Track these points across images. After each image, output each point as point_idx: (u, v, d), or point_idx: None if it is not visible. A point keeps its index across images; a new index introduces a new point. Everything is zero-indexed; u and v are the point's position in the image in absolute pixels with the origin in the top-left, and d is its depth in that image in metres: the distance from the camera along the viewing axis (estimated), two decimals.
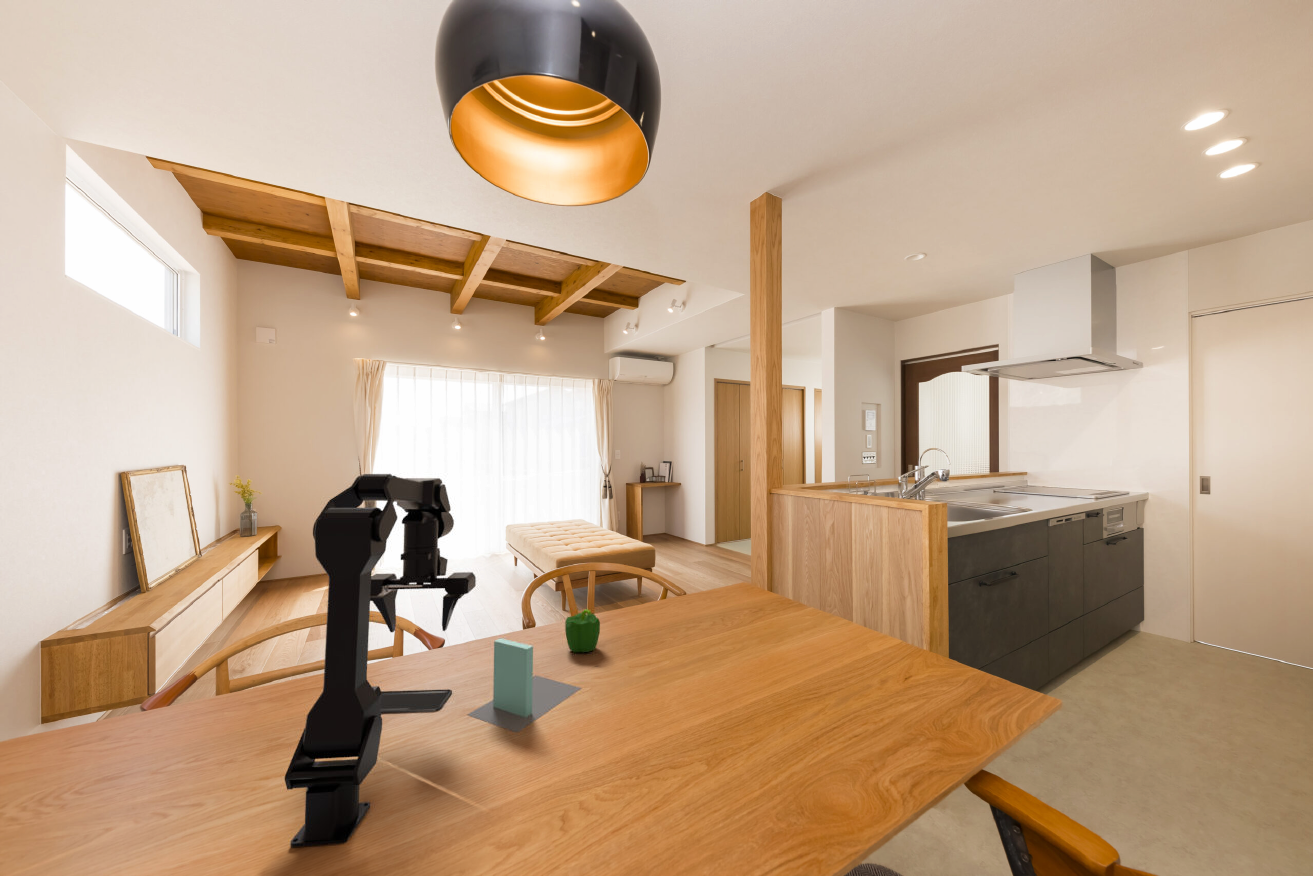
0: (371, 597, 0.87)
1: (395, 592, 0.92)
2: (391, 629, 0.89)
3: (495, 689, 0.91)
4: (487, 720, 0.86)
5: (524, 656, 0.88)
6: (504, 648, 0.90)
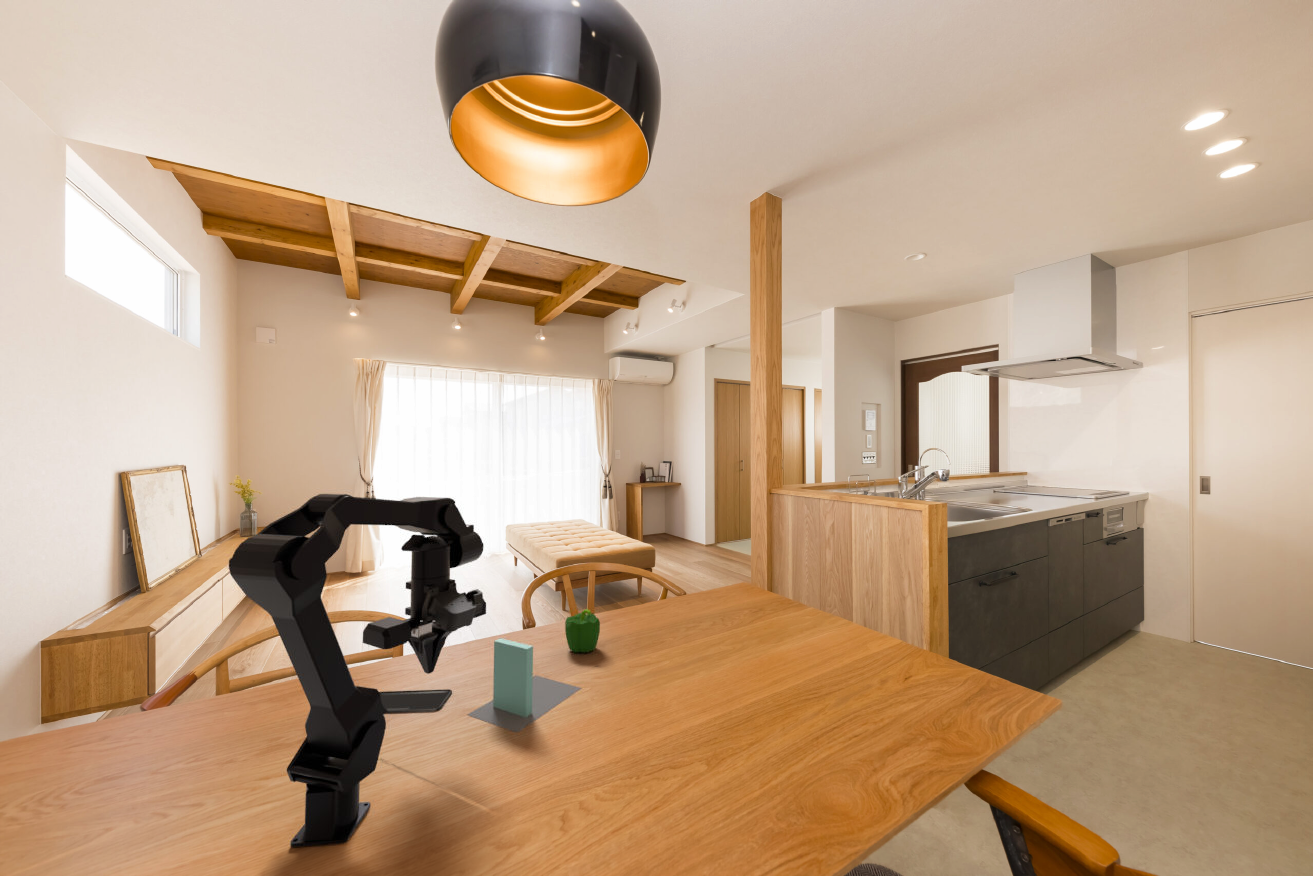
0: None
1: (441, 631, 0.79)
2: None
3: (495, 689, 0.91)
4: (487, 720, 0.86)
5: (524, 656, 0.88)
6: (504, 648, 0.90)
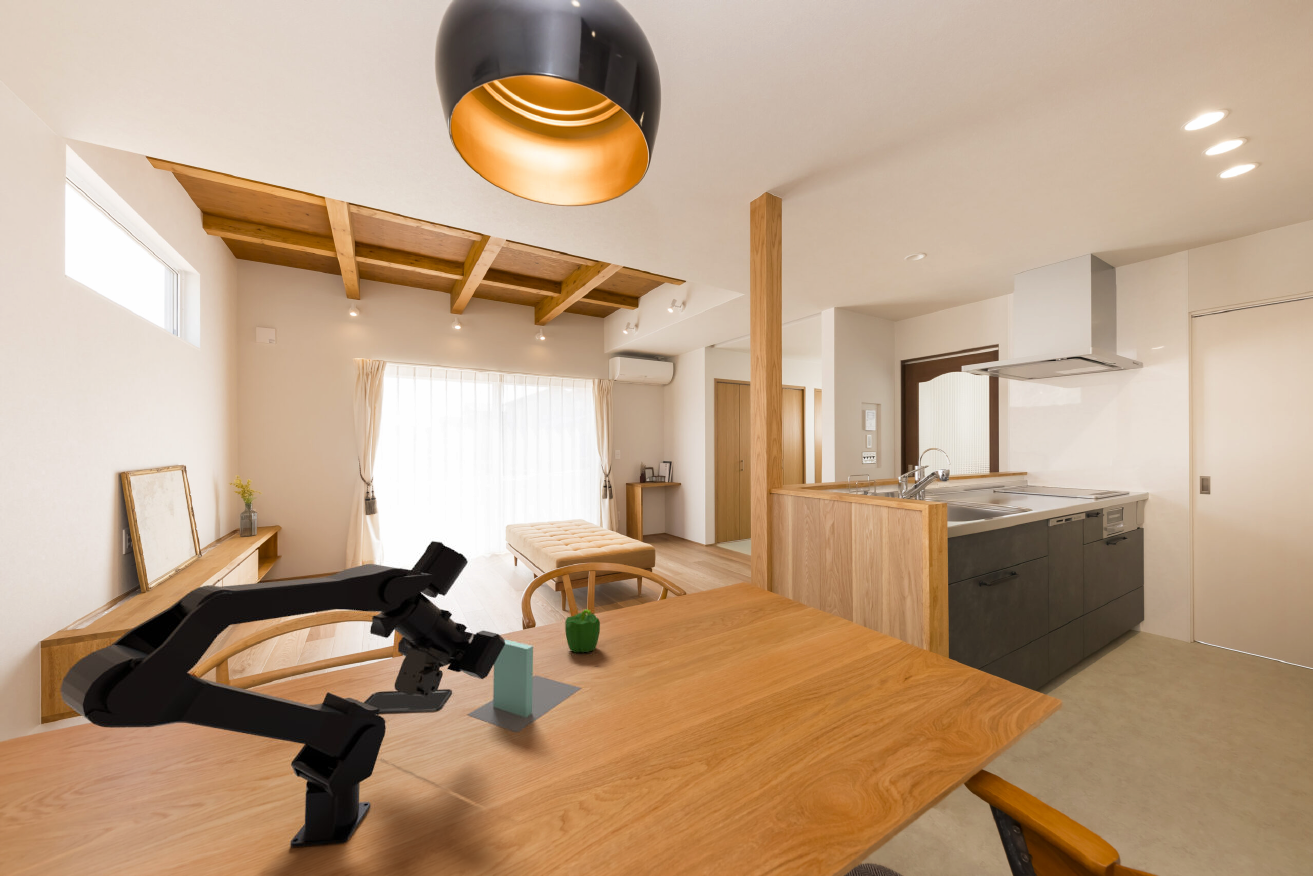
0: None
1: None
2: None
3: (495, 689, 0.91)
4: (487, 720, 0.86)
5: (524, 656, 0.88)
6: (504, 648, 0.90)
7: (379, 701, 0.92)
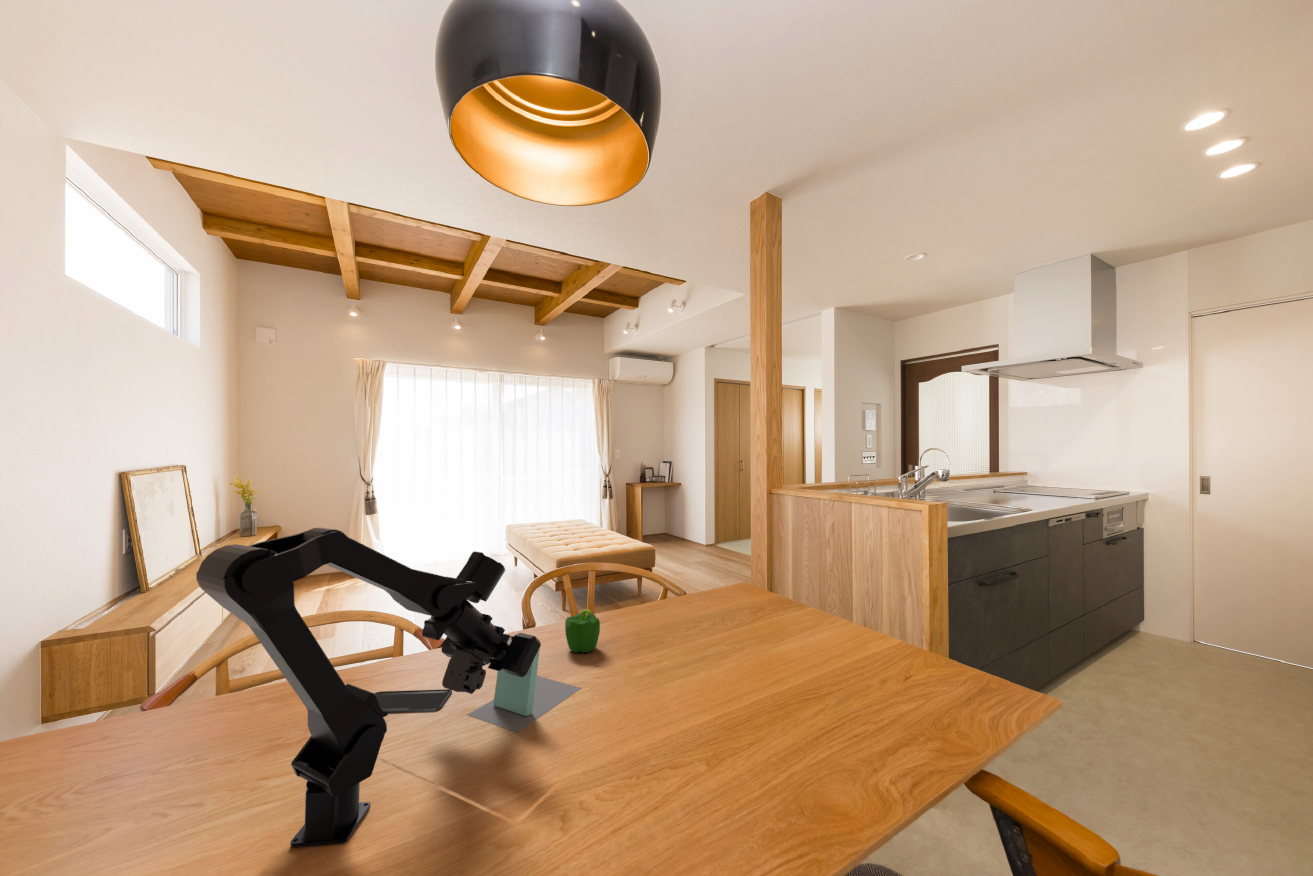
0: None
1: None
2: None
3: (497, 687, 0.91)
4: (487, 720, 0.86)
5: None
6: None
7: (379, 701, 0.92)
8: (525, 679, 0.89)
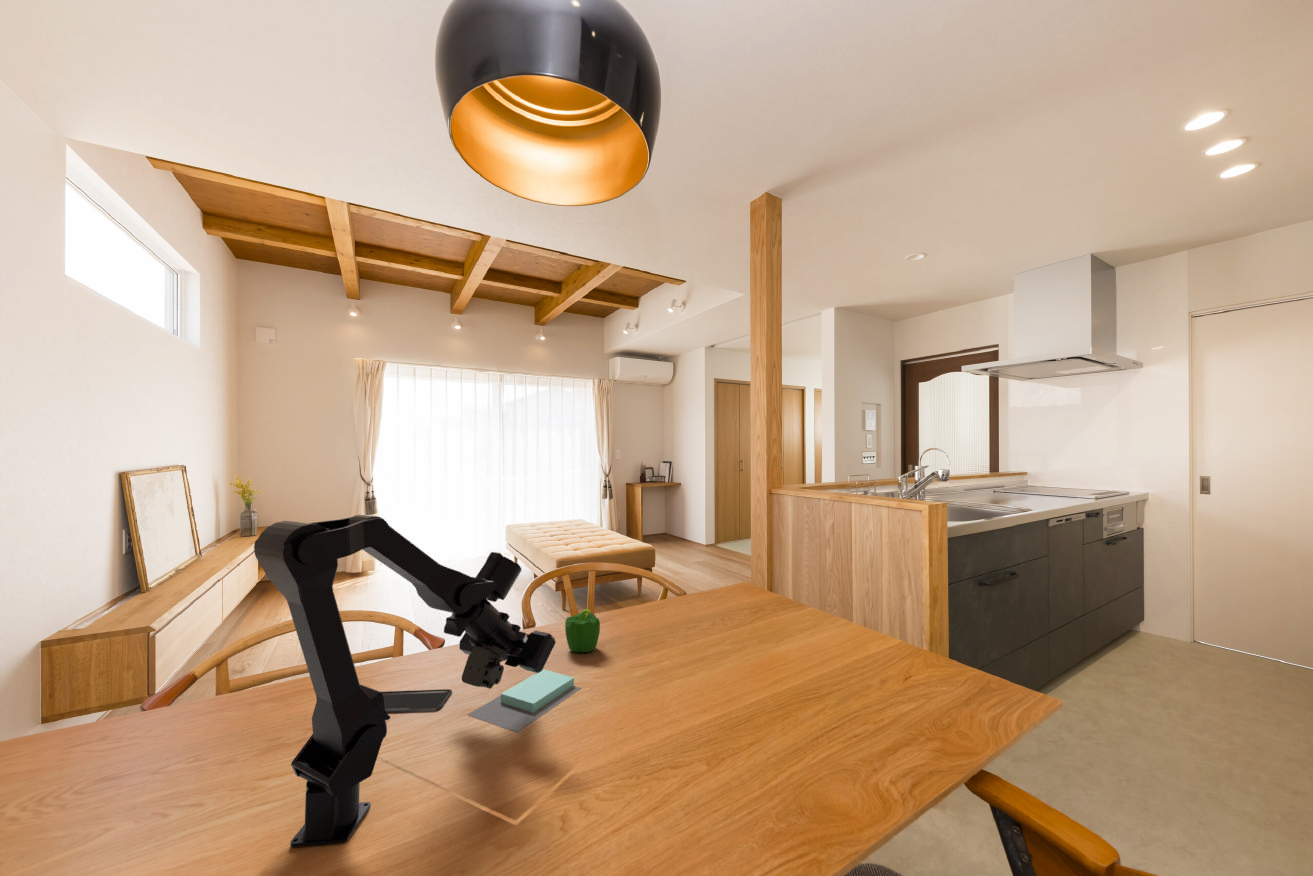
0: (529, 637, 0.90)
1: None
2: None
3: (515, 687, 0.95)
4: (487, 720, 0.86)
5: (567, 679, 0.98)
6: (550, 673, 1.01)
7: None
8: (549, 688, 0.94)
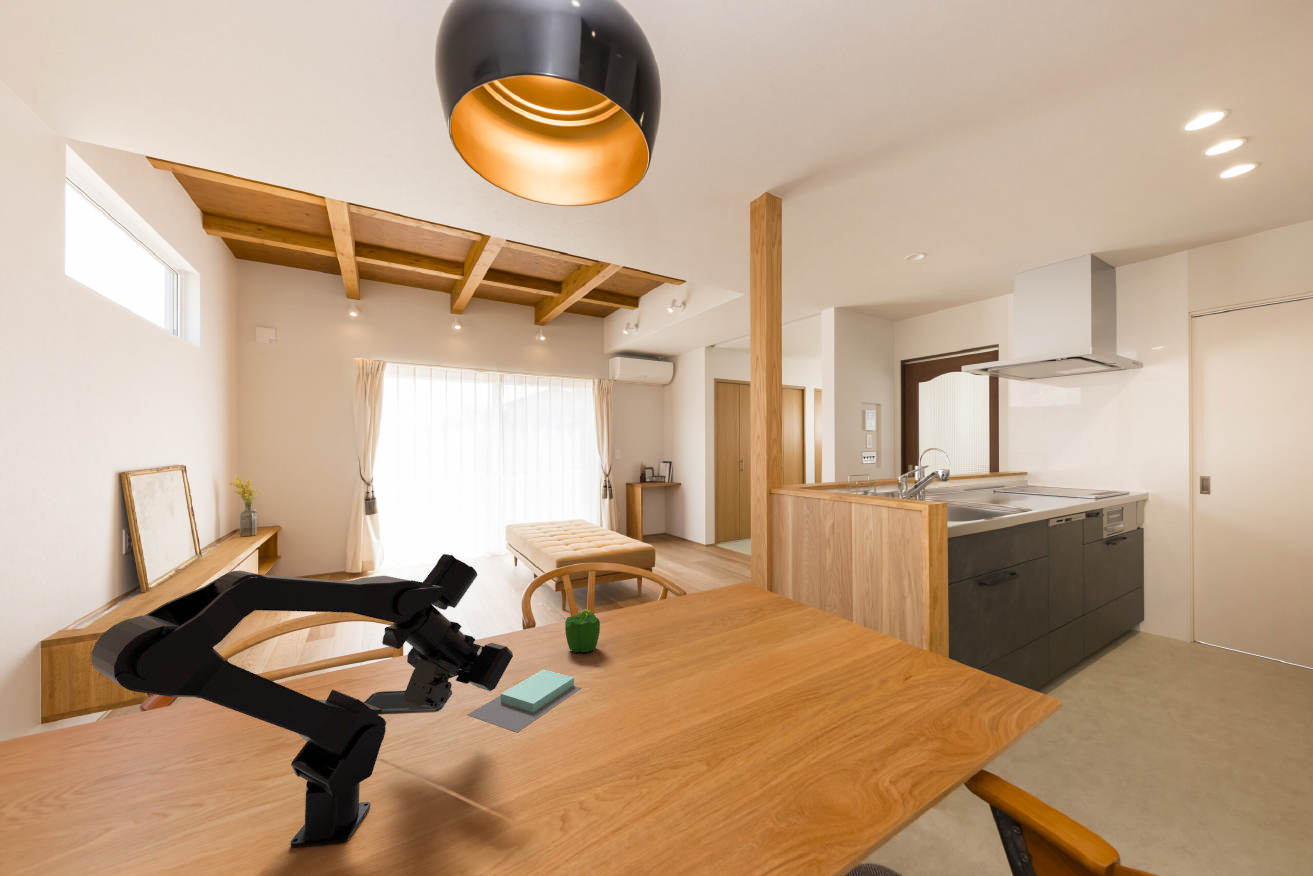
0: None
1: None
2: None
3: (515, 687, 0.95)
4: (487, 720, 0.86)
5: (567, 679, 0.98)
6: (550, 673, 1.01)
7: (379, 701, 0.92)
8: (549, 688, 0.94)
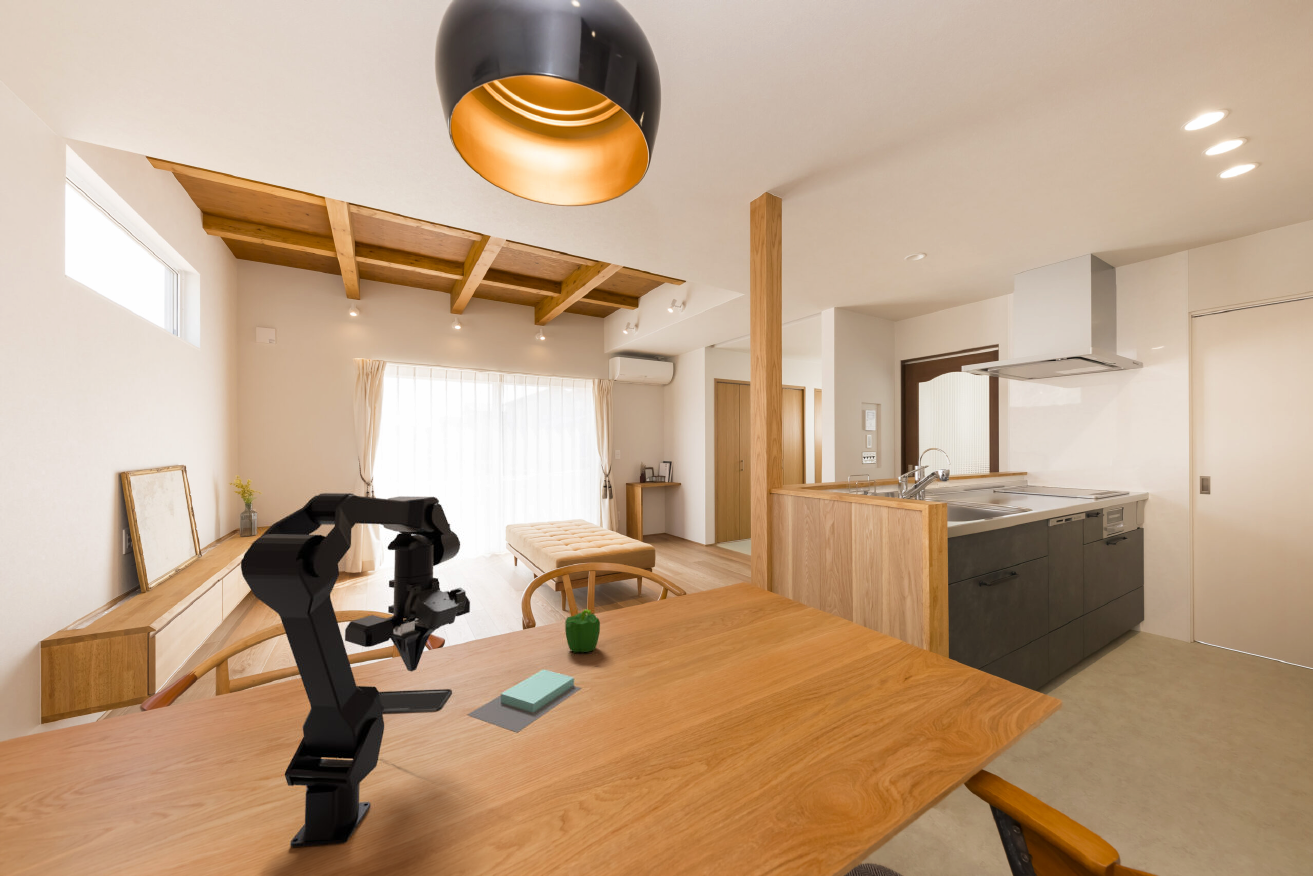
0: None
1: (424, 629, 0.80)
2: None
3: (515, 687, 0.95)
4: (487, 720, 0.86)
5: (567, 679, 0.98)
6: (550, 673, 1.01)
7: None
8: (549, 688, 0.94)
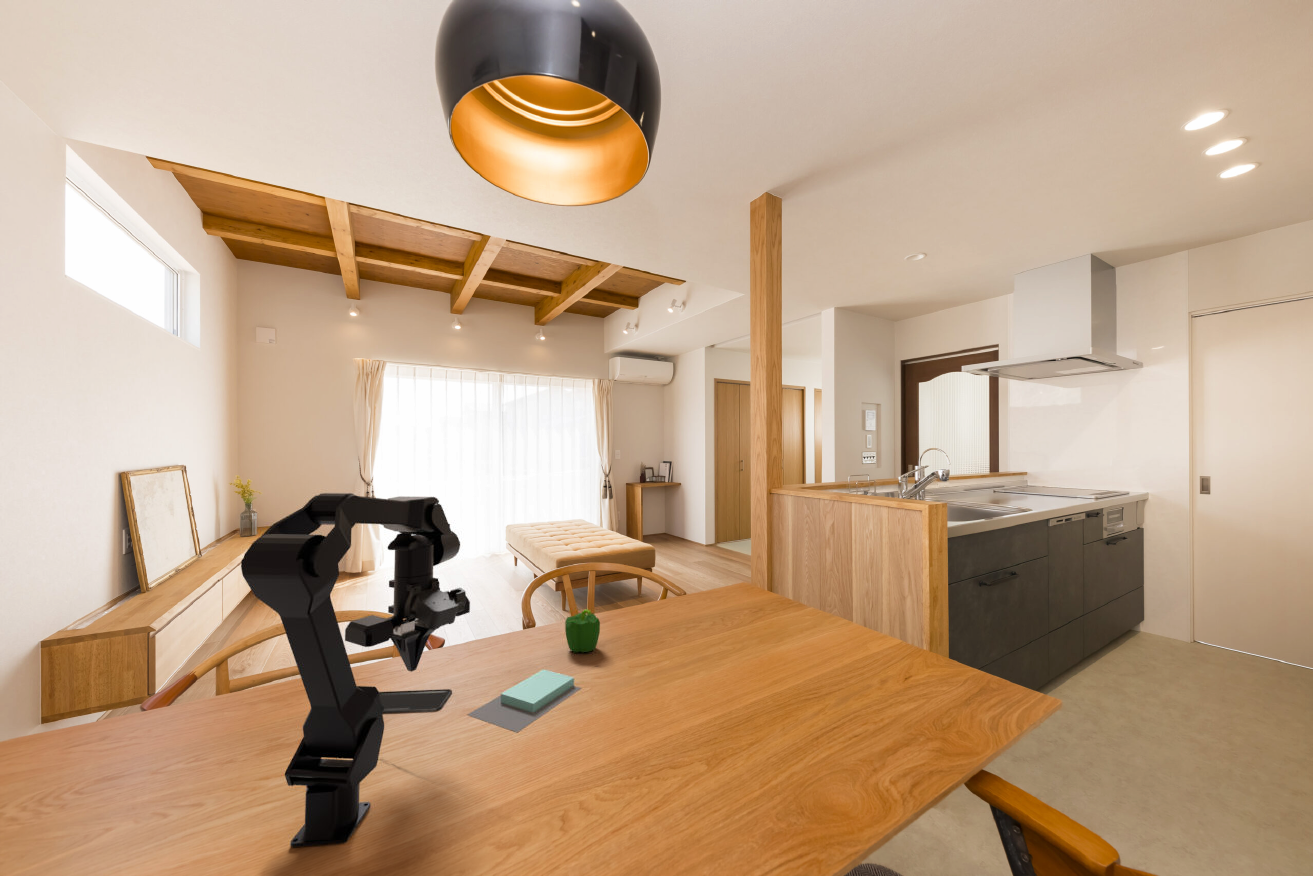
0: None
1: (424, 629, 0.80)
2: None
3: (515, 687, 0.95)
4: (487, 720, 0.86)
5: (567, 679, 0.98)
6: (550, 673, 1.01)
7: None
8: (549, 688, 0.94)
